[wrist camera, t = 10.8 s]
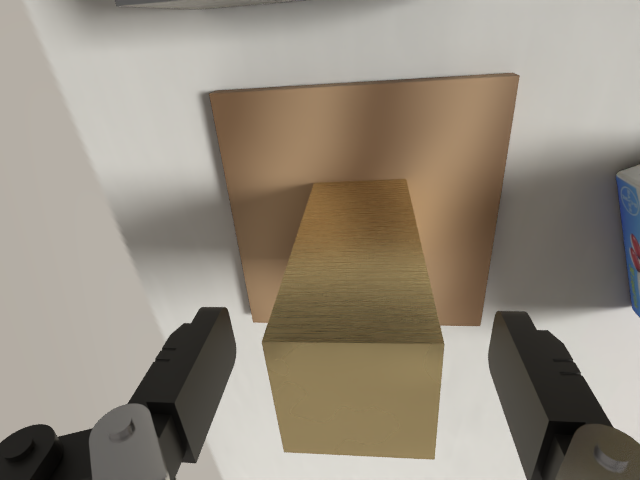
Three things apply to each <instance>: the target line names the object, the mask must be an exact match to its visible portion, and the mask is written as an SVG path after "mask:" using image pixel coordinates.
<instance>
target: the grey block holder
mask: <svg viewBox="0 0 640 480" xmlns="http://www.w3.org/2000/svg"><path fill="white" fill-rule="evenodd" d="M292 1H304V0H115V2H116V6H125V7H151V8H177V9H211V8H223V7H235V6H246V5H258V4H269V3H281V2H292Z"/></svg>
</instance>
